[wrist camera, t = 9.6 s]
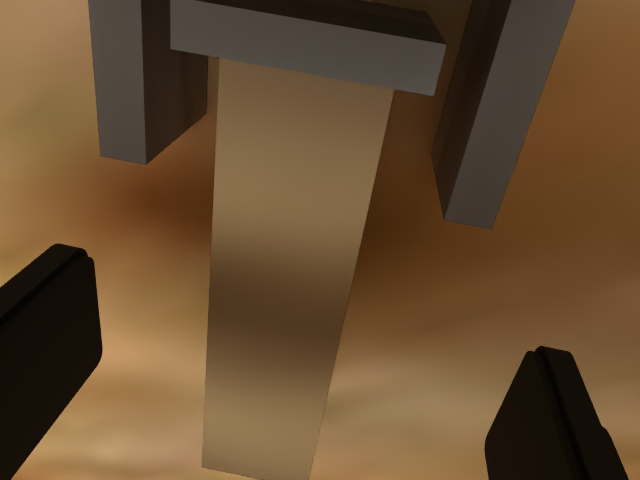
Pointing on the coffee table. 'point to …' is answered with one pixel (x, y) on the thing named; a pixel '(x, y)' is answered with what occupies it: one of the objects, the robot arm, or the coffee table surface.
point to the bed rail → (291, 203)
